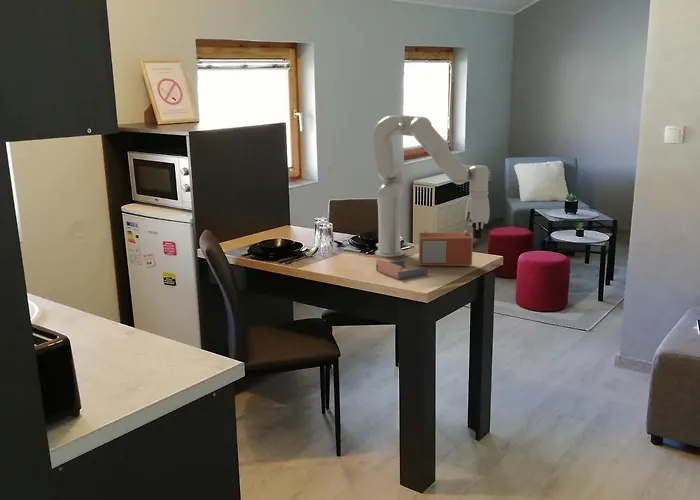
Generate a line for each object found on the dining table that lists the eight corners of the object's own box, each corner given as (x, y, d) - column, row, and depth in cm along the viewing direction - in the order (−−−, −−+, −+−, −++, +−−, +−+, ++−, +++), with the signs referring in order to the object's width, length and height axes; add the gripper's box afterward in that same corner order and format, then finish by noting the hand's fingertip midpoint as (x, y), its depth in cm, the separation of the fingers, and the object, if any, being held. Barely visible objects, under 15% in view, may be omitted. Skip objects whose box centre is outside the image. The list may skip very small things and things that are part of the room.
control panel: (470, 262, 274) (471, 228, 268) (471, 269, 267) (473, 235, 261) (418, 262, 275) (419, 229, 269) (419, 269, 269) (419, 235, 263)
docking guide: (376, 271, 264) (376, 259, 263) (403, 266, 271) (403, 254, 270) (399, 279, 251) (399, 267, 250) (427, 274, 257) (427, 262, 256)
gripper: (485, 192, 281) (484, 234, 285) (458, 195, 274) (457, 238, 278) (498, 194, 275) (496, 237, 279) (470, 197, 267) (469, 241, 271)
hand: (477, 238), depth 278 cm, fingers closed
